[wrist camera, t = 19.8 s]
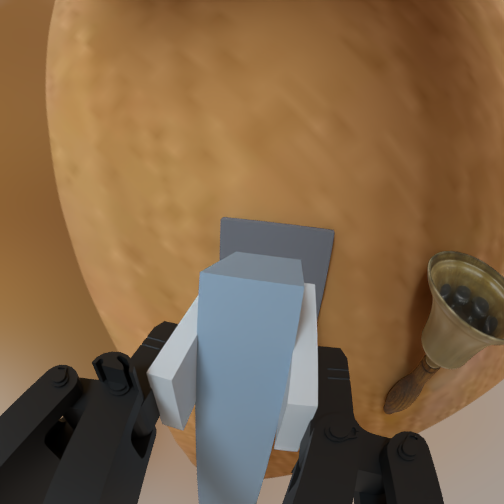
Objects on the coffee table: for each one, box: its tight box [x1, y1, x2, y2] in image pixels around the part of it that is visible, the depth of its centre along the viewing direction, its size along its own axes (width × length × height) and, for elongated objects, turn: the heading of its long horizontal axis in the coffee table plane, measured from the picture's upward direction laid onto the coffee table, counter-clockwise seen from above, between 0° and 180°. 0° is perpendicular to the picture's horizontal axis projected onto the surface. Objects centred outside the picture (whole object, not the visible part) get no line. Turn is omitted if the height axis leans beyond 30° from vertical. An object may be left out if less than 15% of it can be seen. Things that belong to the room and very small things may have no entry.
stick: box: [195, 252, 304, 504], centre depth 11 cm, size 20×3×5 cm, turn 177°
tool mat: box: [220, 217, 334, 319], centre depth 20 cm, size 18×7×1 cm, turn 176°
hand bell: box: [384, 251, 504, 414], centre depth 16 cm, size 8×8×16 cm
